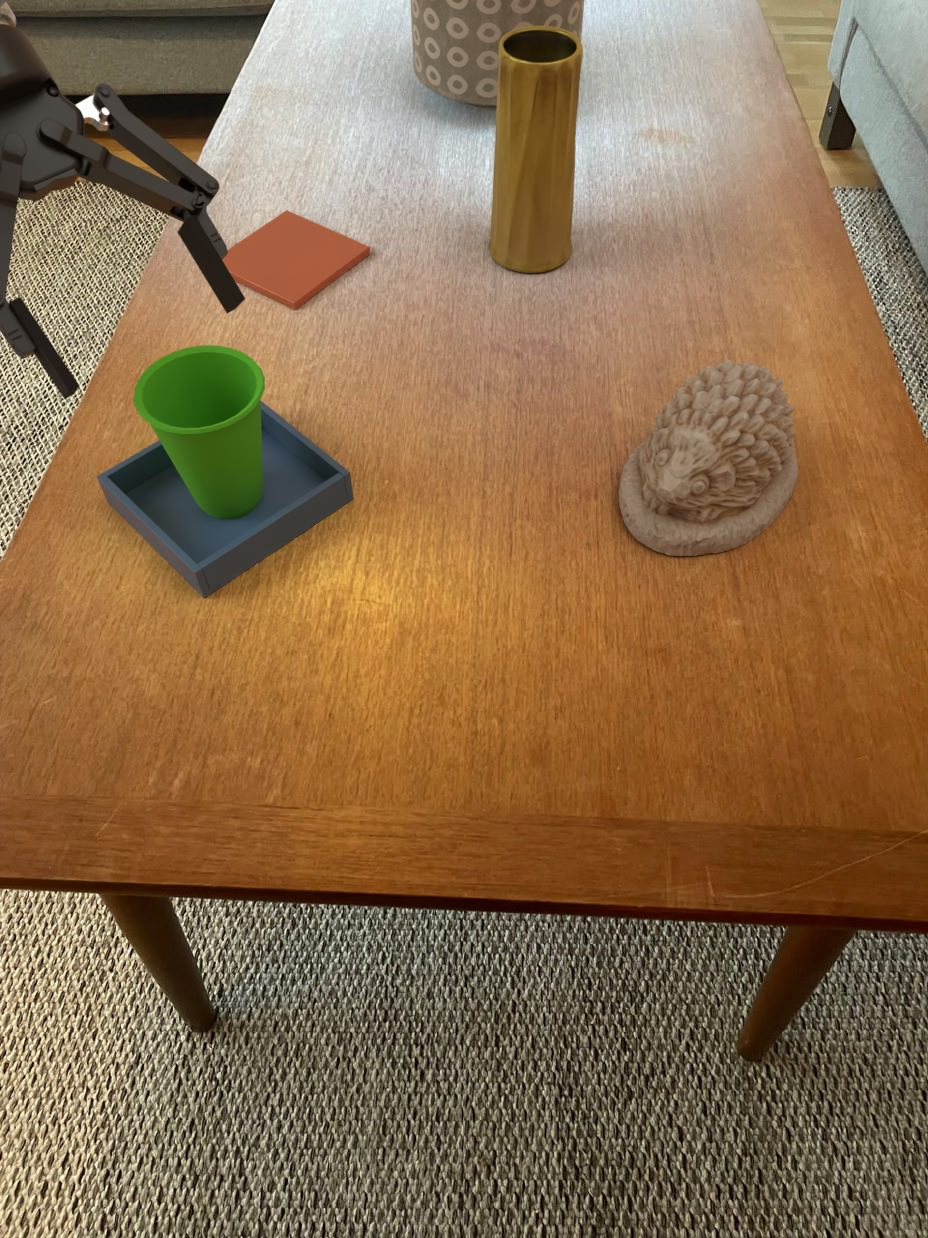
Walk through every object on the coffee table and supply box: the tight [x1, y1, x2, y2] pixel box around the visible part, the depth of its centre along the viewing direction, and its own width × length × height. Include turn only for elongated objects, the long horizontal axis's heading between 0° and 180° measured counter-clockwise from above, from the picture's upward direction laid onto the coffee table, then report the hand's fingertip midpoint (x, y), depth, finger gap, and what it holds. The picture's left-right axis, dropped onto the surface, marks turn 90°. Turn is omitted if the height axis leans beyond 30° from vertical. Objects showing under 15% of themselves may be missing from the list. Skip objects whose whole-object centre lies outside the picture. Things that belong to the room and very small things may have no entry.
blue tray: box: [96, 400, 355, 599], centre depth 76 cm, size 14×13×3 cm
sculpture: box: [618, 359, 800, 557], centre depth 74 cm, size 12×17×10 cm
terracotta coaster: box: [222, 209, 371, 310], centre depth 96 cm, size 11×11×1 cm
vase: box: [488, 26, 584, 274], centre depth 89 cm, size 8×8×19 cm
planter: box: [410, 0, 585, 110], centre depth 109 cm, size 19×19×18 cm
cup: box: [132, 344, 266, 519], centre depth 73 cm, size 9×9×11 cm
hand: (157, 348), depth 70 cm, fingers open, 13 cm apart
